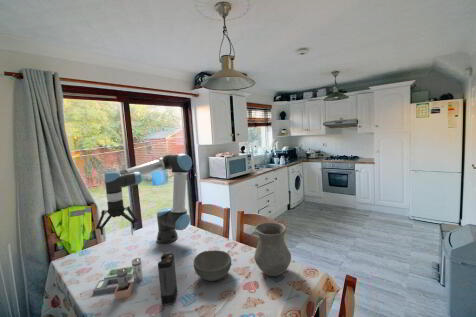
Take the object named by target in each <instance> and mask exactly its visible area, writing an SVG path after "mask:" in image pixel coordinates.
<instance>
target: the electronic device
mask: <svg viewBox="0 0 476 317" xmlns="http://www.w3.org/2000/svg"><path fill="white" fill-rule="evenodd" d="M174 255H175V254H174V253H170V252H169V253H164V254H162V255H161V257H160V261H159V262H158V263H157V267H158V268H157V269H158V270H157V271H158V278H159V288H160V289H159V290H160V300H161V304H162V305H163V306H169V305H173V304H174V303H175V302H176V298H177V295H178V285H177V274H176V263H175V262H176V261H175V256H174Z"/></svg>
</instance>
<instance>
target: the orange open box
mask: <svg viewBox="0 0 476 317" xmlns="http://www.w3.org/2000/svg"><path fill="white" fill-rule="evenodd" d="M128 284H129V288H128V290H123V291H119V287H117V289H116V291H114V298H115V300H119V299H125V298H130V296H131V295H132V291H133V289H134V285H133V281H128Z"/></svg>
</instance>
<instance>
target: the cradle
mask: <svg viewBox="0 0 476 317" xmlns="http://www.w3.org/2000/svg"><path fill="white" fill-rule="evenodd" d="M97 282H98V283H97V284H96V285H95V287H94V289H93V290H92V293H93V295H99V294H103V293H105V294H106V293H109V292H115V291H116V289H117V287H118V285H112V286H109V285H110V284H113V283H118V278H111V279H105V280H104V279H101V280H98V281H97Z"/></svg>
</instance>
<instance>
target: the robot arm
mask: <svg viewBox="0 0 476 317" xmlns="http://www.w3.org/2000/svg"><path fill="white" fill-rule="evenodd" d="M192 166H193V160H192V158H191V156H189V155H188V154H186V153H185V154H184V153H169V154H166V155H163V156H160V157H157V158H156V159H155V160H153V161H149V162H146V163H141V164H138V165H135V166H132V167H129V168H126V169H122V170H119V171H118V170H116V171H109V172H106V173H105V174H104V184H105V185H104V186H105V190H106V191H105V195H106V201H107V210H106V209H102V210H101V213H100V214H101V215H100V218H99V219H98V221H97V224H96V227H95V229H96V230H99V232H100V235H101V236H102V237H103V242H105V241H106V240H107V235H106V227H105V226H106V225H107V223H108V222H109V221H110V220H111V218H117V217H123V218H124V219H126V221H129V222H130V231H131V236H134V229H135V228H136V226H135V223H137V222H138V218H137V216H136V215H135V214H134V212H133V211H132V209H131V206H130V205H128V206H124V199H123V188H127V187H131V186H136V185H139V184H141V183H142V180H143V176H147V175H149V174H152V173H155V172H157V171H161V172H162V171H166V170H167V171H168V170H171V173H172V175H173V191H172V195H173V196H172V207H167V208H162V209H160V210H158V211H157V213H156V219H157V229H158V231H157V236H156V242H157V243H158V244H163V245H164V244H170V243H173V242H175V241H176V240H178V238H179V236H178V232H177V231H184V230H186V229H187V228H188V226H189V225H190V222H191V216H189V214H188V210H187V209H186V189H187V188H186V187H187V186H186V185H187V175H188V174H189V171H190V170H191V169H192ZM125 211H127V212H128V214H129V215H130V216H131V217H130V216H129V215H128V214H126V213H125ZM107 214H108V216H107V218H105V220H104V222H103V223H102V221H103V219H104V217H105V215H107Z"/></svg>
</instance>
